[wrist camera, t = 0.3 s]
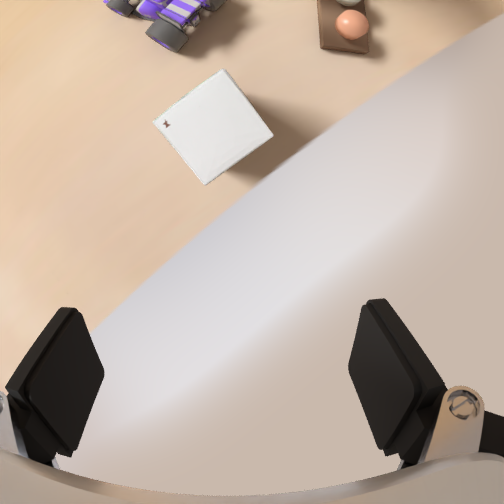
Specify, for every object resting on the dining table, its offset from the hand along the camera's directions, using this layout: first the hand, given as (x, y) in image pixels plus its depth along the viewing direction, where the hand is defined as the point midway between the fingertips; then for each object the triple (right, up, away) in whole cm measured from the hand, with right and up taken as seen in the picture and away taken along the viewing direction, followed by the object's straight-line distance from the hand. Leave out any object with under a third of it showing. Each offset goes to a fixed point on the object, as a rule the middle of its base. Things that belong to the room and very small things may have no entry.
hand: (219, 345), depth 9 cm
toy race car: (-11, +34, +17) cm, 40 cm away
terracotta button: (+13, +30, +17) cm, 36 cm away
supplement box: (-3, +18, +25) cm, 31 cm away
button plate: (+12, +35, +17) cm, 41 cm away
